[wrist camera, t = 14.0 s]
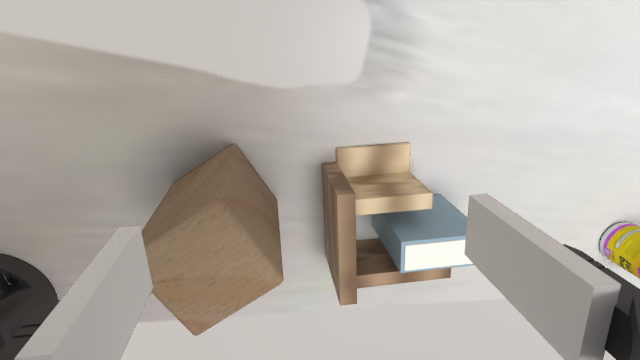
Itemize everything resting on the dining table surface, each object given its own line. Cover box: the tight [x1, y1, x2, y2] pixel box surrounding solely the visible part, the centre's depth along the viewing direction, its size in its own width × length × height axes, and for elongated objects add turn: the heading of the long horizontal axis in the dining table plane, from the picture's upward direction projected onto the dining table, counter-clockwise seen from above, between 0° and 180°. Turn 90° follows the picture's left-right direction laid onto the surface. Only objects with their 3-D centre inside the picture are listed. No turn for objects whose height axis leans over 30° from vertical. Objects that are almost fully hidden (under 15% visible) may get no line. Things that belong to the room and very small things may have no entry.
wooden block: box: [142, 144, 283, 336], centre depth 44 cm, size 10×10×20 cm
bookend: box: [336, 143, 433, 216], centre depth 50 cm, size 10×6×9 cm, turn 92°
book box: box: [372, 194, 474, 273], centre depth 51 cm, size 10×4×13 cm, turn 92°
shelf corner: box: [322, 162, 451, 305], centre depth 51 cm, size 15×14×12 cm
